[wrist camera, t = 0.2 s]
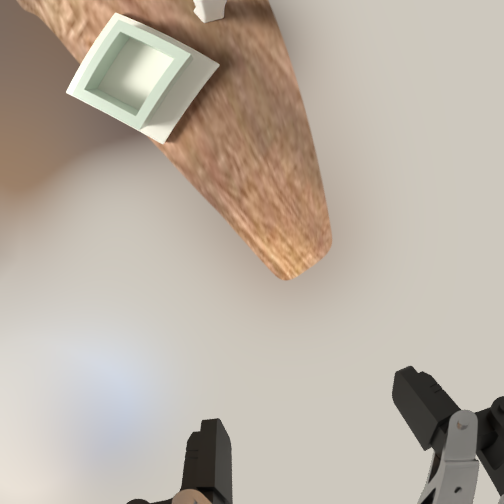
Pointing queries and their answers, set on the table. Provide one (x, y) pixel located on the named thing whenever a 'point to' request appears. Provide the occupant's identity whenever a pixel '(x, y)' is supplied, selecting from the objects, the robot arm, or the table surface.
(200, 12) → the perfume bottle
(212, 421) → the robot arm
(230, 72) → the table surface
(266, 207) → the table surface
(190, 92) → the stand
